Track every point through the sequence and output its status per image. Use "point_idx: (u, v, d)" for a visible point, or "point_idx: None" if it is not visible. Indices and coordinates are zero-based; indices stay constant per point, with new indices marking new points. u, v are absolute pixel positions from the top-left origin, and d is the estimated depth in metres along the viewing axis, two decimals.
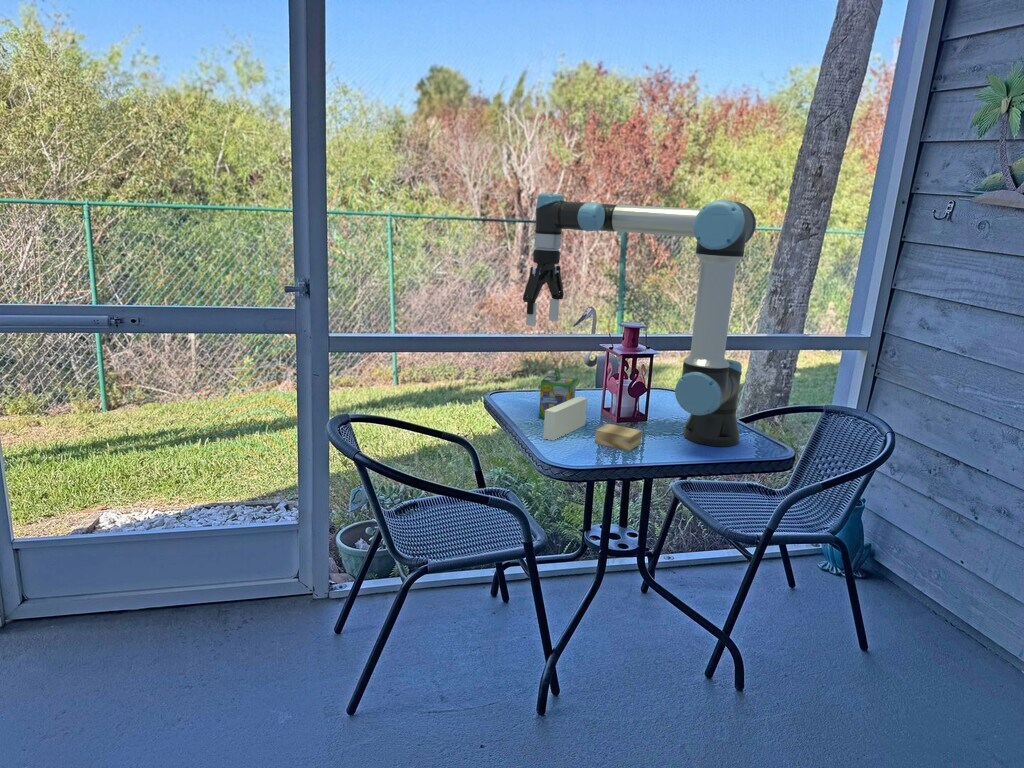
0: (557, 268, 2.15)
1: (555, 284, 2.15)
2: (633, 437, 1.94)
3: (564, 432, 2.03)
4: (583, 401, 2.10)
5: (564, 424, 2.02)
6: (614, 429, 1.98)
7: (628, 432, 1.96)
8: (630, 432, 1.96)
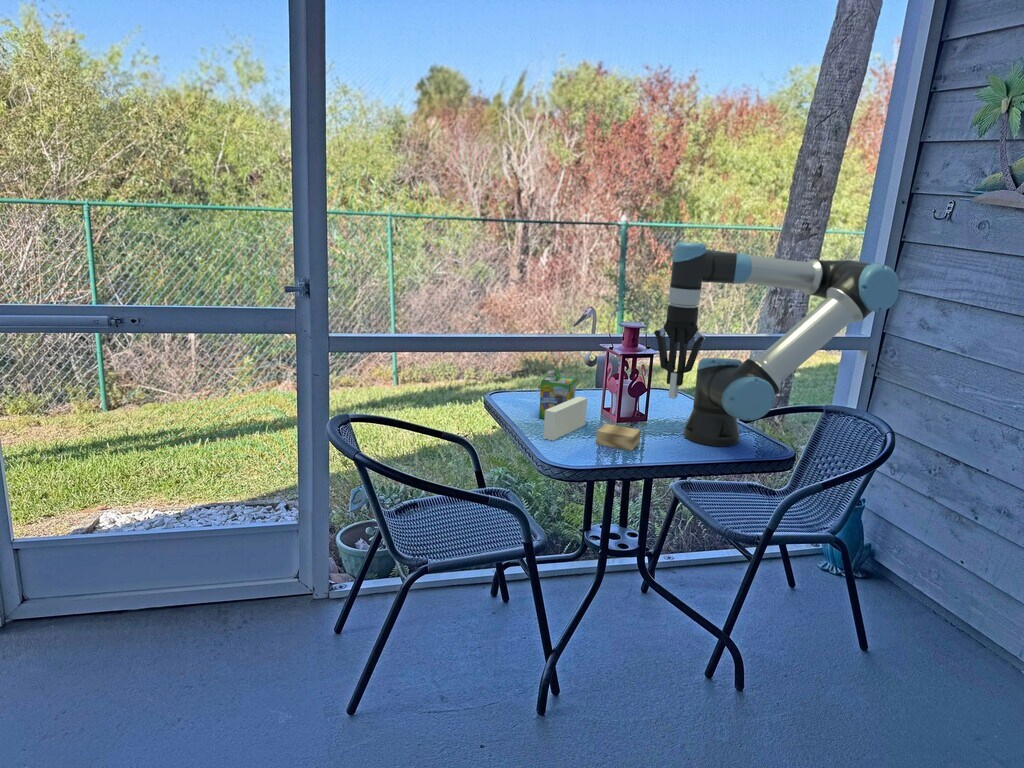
0: None
1: (681, 351, 1.84)
2: (635, 437, 1.94)
3: (564, 432, 2.03)
4: (583, 401, 2.10)
5: (564, 424, 2.02)
6: (614, 429, 1.98)
7: (628, 432, 1.96)
8: (631, 432, 1.97)
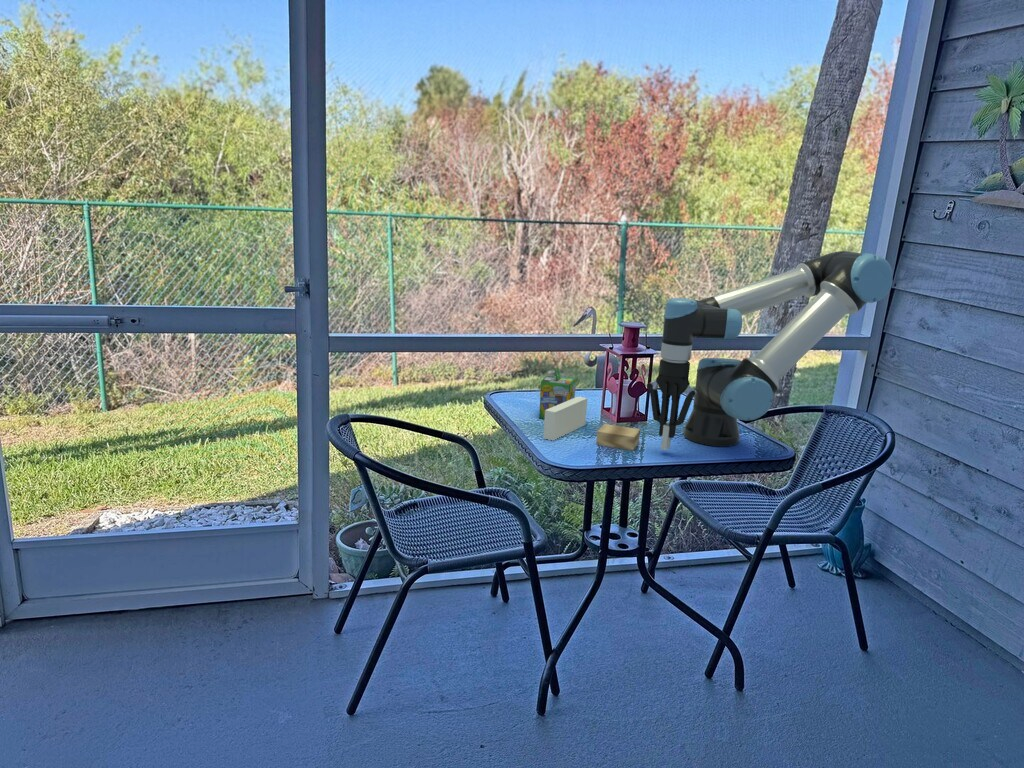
0: (690, 391, 1.85)
1: (673, 404, 1.87)
2: (635, 436, 1.94)
3: (564, 432, 2.03)
4: (583, 401, 2.10)
5: (564, 424, 2.02)
6: (614, 429, 1.98)
7: (629, 432, 1.96)
8: (631, 432, 1.97)
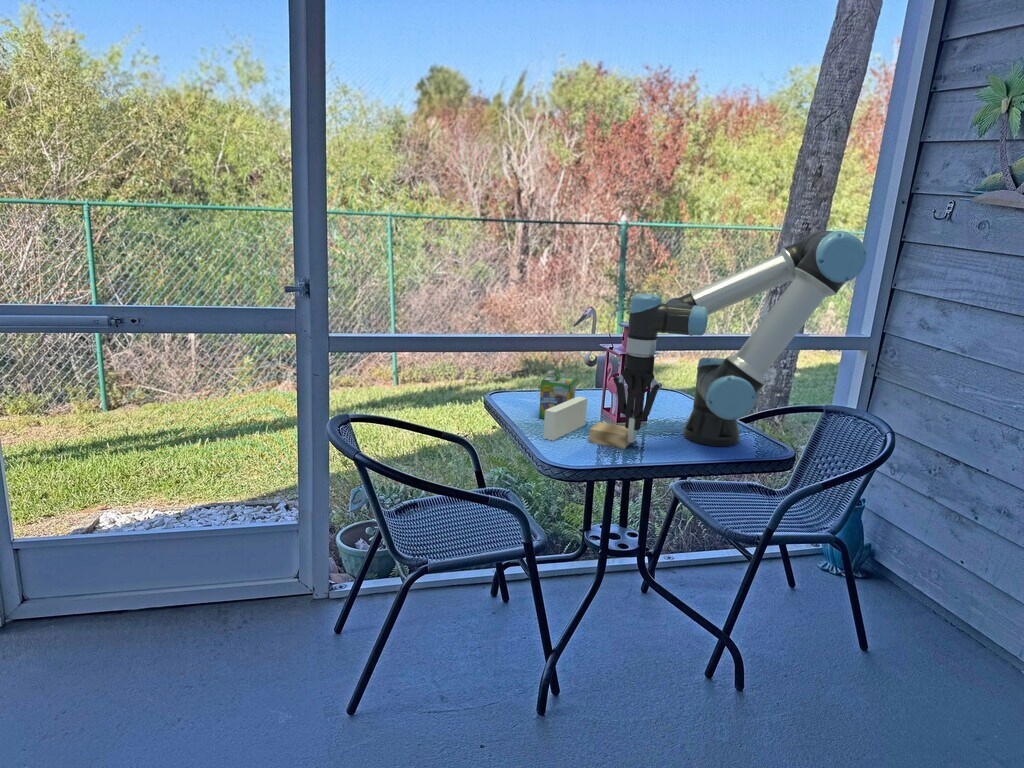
0: (655, 385, 1.89)
1: (638, 397, 1.92)
2: (627, 435, 1.95)
3: (564, 432, 2.03)
4: (583, 401, 2.10)
5: (564, 424, 2.02)
6: (607, 427, 1.99)
7: (621, 430, 1.97)
8: (624, 430, 1.98)
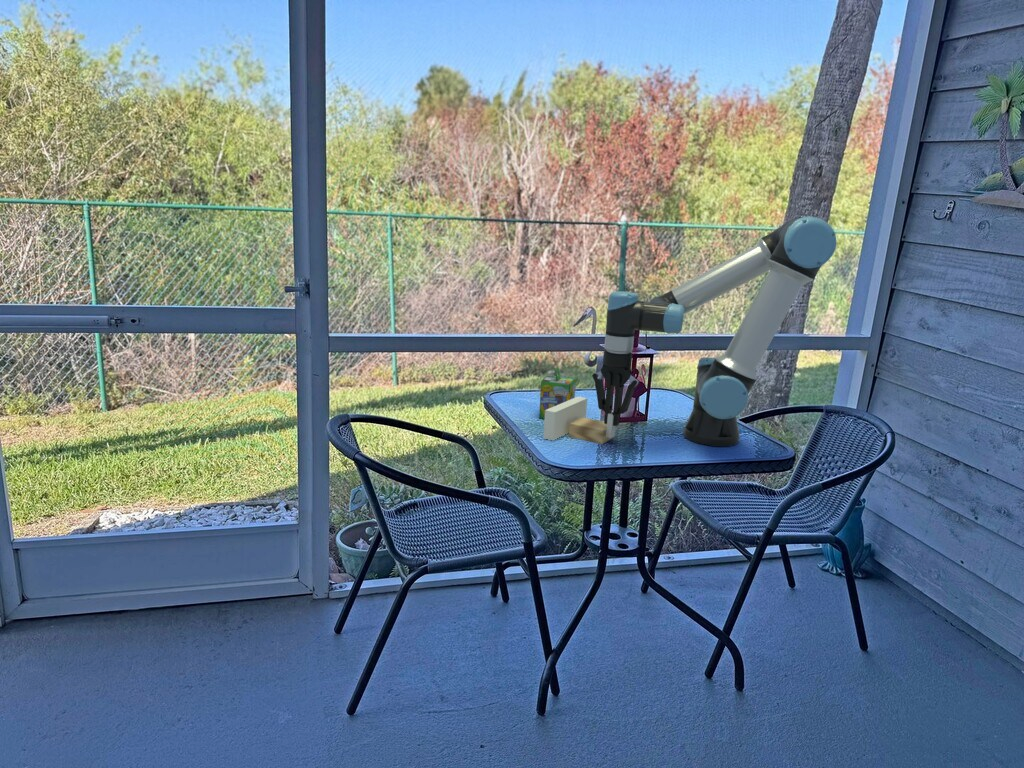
0: None
1: (616, 393, 1.95)
2: None
3: (564, 432, 2.03)
4: (583, 401, 2.10)
5: (564, 424, 2.02)
6: (588, 423, 2.02)
7: (601, 426, 2.00)
8: (604, 425, 2.01)
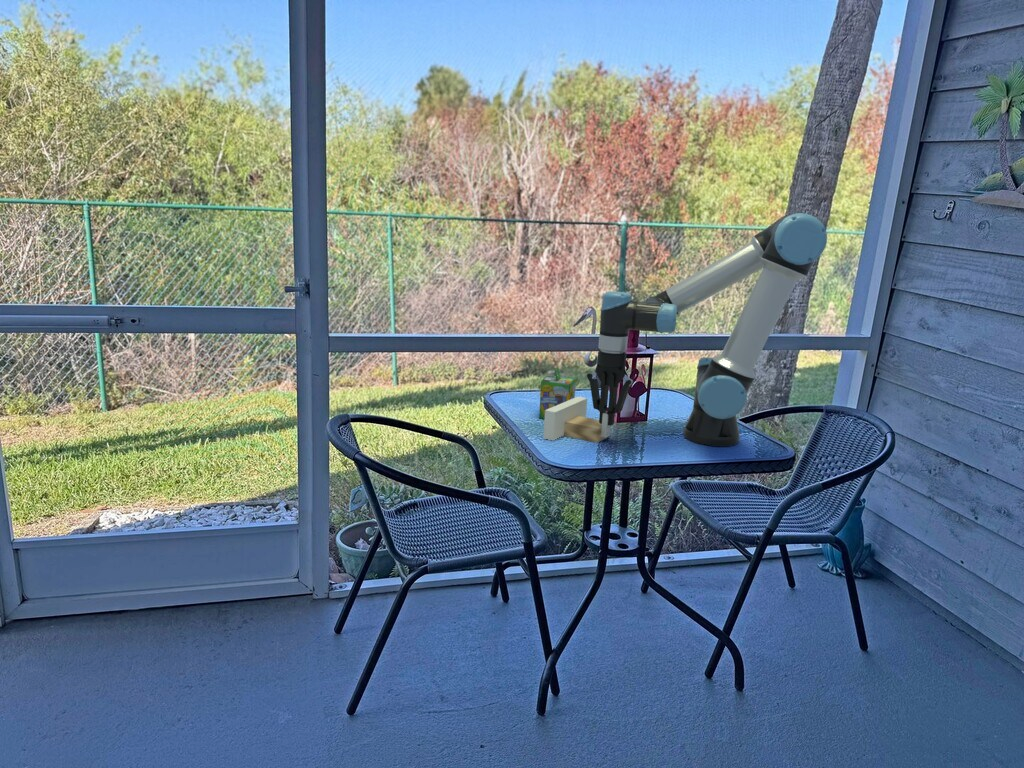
0: None
1: (611, 393, 1.96)
2: (601, 428, 1.99)
3: None
4: (583, 401, 2.10)
5: (564, 424, 2.02)
6: (583, 421, 2.03)
7: (596, 424, 2.01)
8: (599, 424, 2.01)
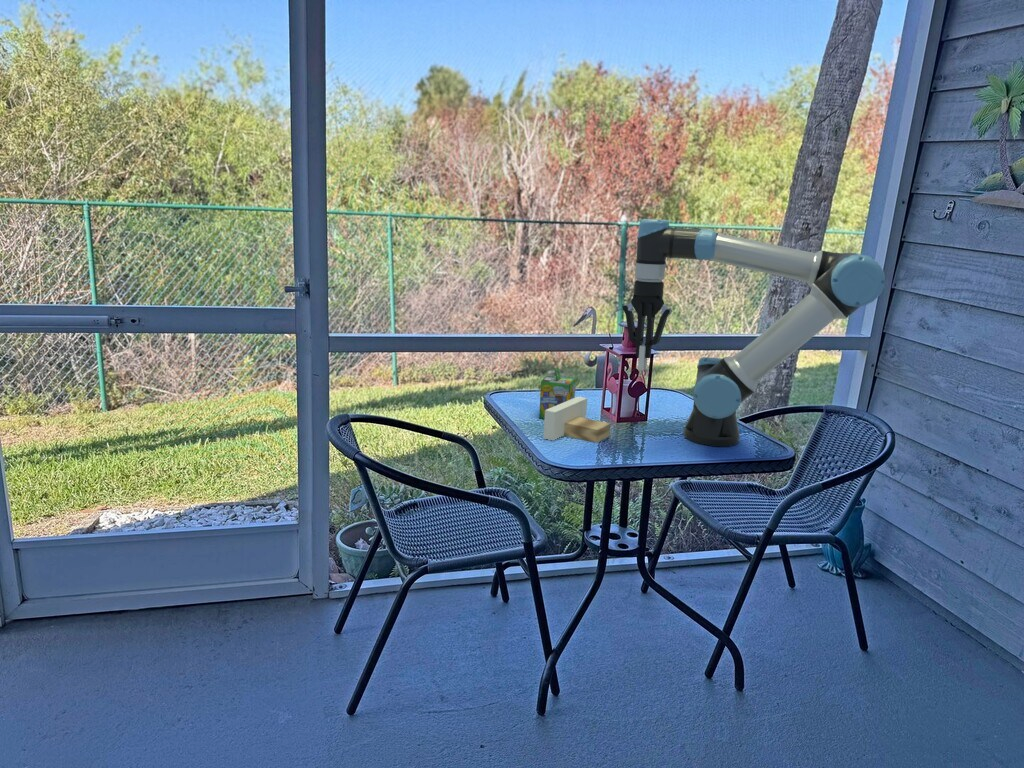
0: None
1: (649, 324, 1.91)
2: (601, 430, 1.99)
3: None
4: (583, 401, 2.10)
5: (564, 424, 2.02)
6: (583, 422, 2.03)
7: (596, 425, 2.01)
8: (599, 425, 2.01)
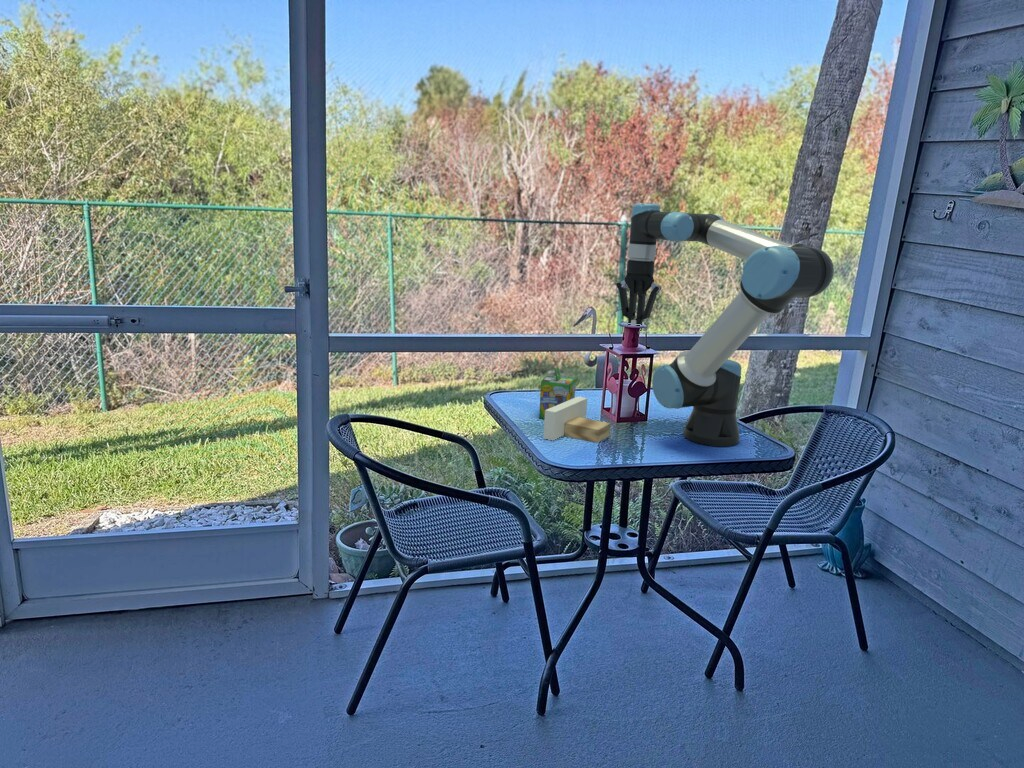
0: None
1: (639, 300, 2.08)
2: (601, 430, 1.99)
3: (564, 432, 2.03)
4: (583, 401, 2.10)
5: (564, 424, 2.02)
6: (583, 422, 2.03)
7: (596, 425, 2.01)
8: (599, 425, 2.01)
